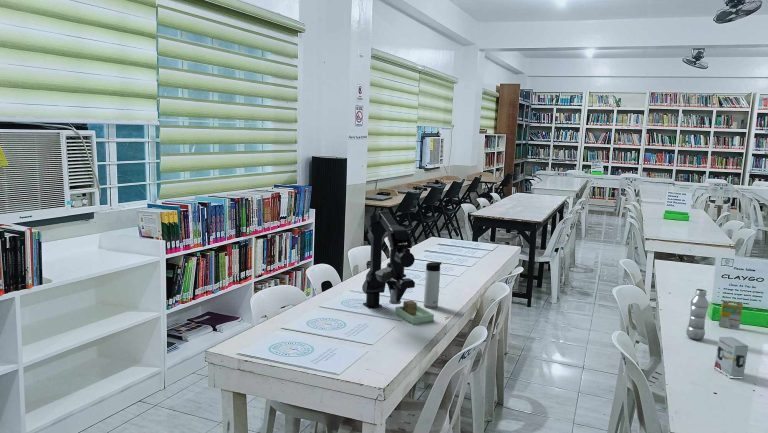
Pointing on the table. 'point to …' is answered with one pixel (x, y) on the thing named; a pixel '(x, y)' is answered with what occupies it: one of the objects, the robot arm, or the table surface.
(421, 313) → the parts tray
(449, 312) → the table surface
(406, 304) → the walnut block
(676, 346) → the table surface
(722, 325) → the crayon box
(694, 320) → the plastic bottle
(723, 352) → the ink box
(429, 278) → the travel mug
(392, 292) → the grey domed knob
